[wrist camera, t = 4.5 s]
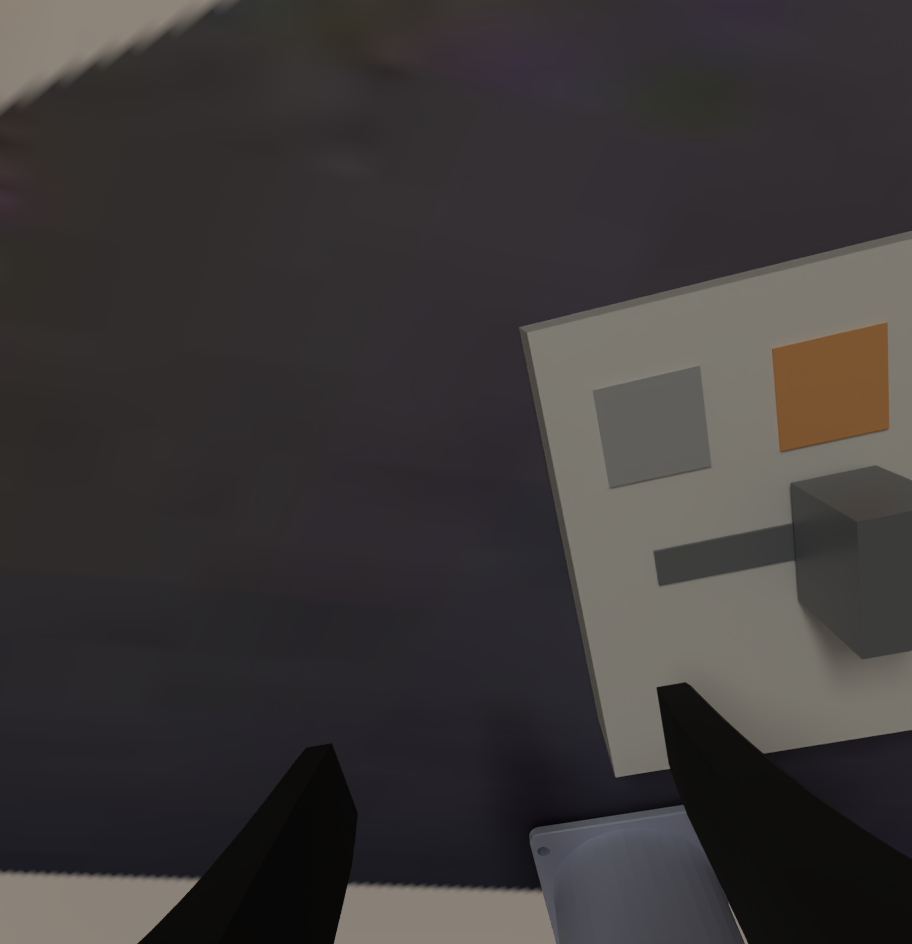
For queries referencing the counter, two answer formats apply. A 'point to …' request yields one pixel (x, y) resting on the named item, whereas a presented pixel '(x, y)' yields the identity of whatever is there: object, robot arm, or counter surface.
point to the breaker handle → (857, 557)
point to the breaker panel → (724, 490)
